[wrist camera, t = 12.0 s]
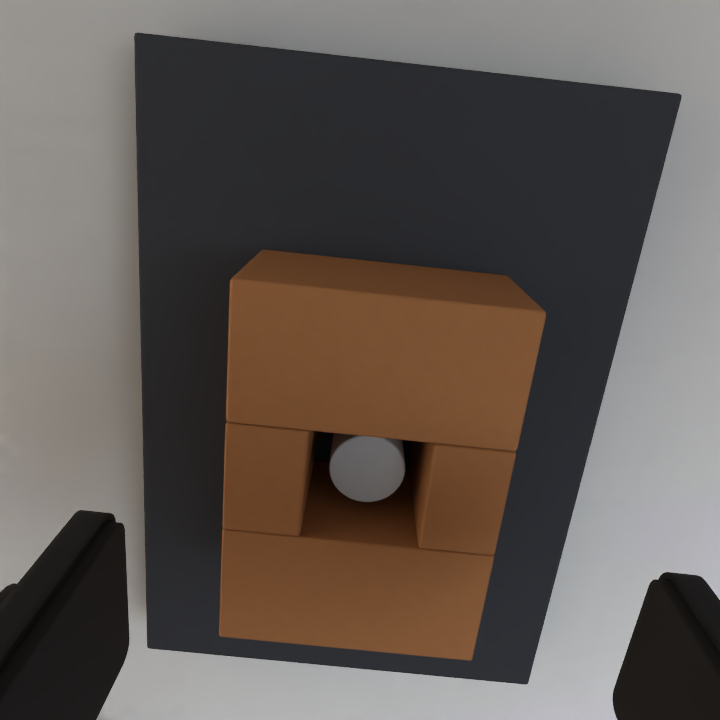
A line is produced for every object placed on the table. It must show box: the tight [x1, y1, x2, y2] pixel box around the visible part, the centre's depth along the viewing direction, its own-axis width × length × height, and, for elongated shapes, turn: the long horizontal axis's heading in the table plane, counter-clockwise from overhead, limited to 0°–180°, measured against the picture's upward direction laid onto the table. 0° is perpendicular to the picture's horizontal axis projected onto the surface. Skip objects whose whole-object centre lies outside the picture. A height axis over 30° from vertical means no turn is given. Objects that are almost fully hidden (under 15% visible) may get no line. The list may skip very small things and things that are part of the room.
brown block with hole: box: [219, 250, 546, 661], centre depth 17 cm, size 10×7×4 cm
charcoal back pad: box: [134, 33, 681, 684], centre depth 18 cm, size 20×14×5 cm
